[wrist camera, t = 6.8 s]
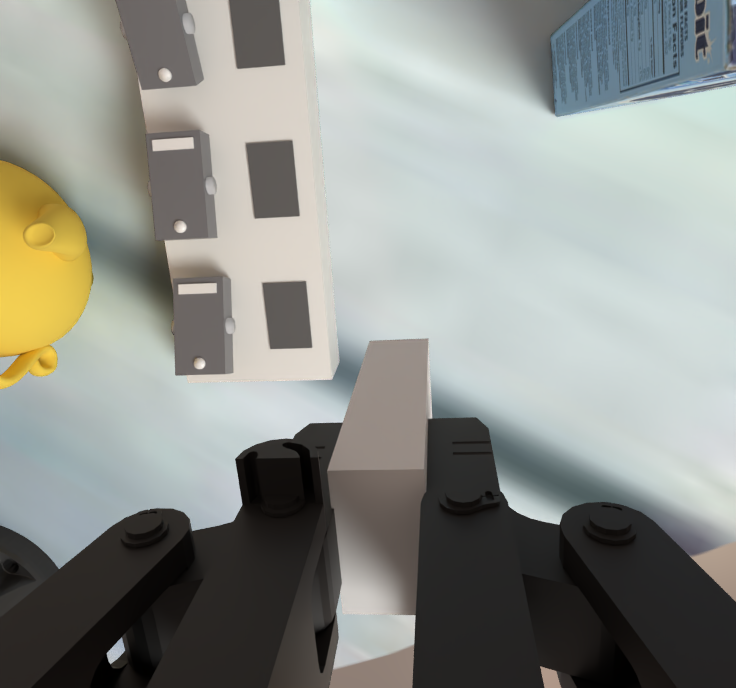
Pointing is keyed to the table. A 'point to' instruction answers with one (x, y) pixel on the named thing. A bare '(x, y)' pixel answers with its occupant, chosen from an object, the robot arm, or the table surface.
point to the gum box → (642, 52)
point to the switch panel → (260, 185)
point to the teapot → (38, 272)
